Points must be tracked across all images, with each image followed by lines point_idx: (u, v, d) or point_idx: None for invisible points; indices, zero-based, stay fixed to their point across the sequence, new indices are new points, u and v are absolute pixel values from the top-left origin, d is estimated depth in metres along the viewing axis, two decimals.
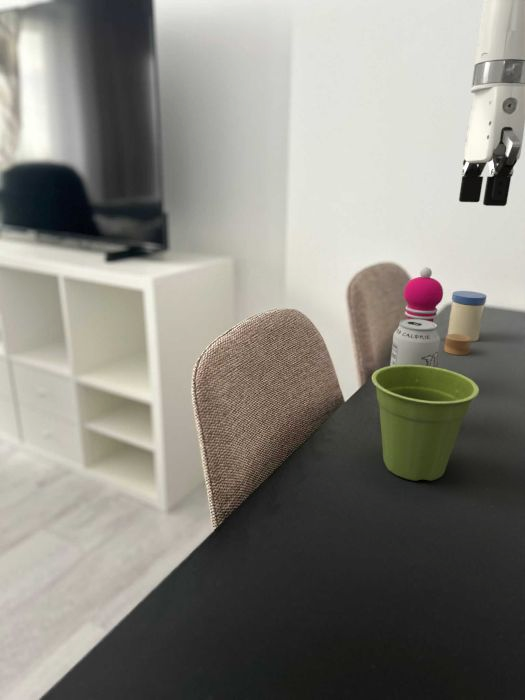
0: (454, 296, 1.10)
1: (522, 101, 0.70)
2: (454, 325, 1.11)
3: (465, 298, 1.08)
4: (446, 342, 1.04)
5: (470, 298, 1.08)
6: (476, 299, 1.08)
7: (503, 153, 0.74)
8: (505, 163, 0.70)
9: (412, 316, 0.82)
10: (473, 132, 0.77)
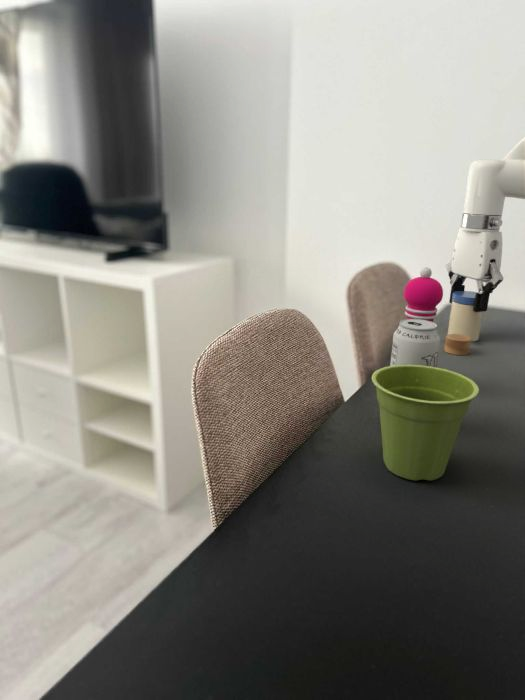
0: (454, 296, 1.10)
1: (501, 241, 1.03)
2: (454, 325, 1.11)
3: (465, 298, 1.08)
4: (446, 342, 1.04)
5: (470, 298, 1.08)
6: None
7: None
8: (491, 287, 1.04)
9: (412, 316, 0.82)
10: (463, 256, 1.08)
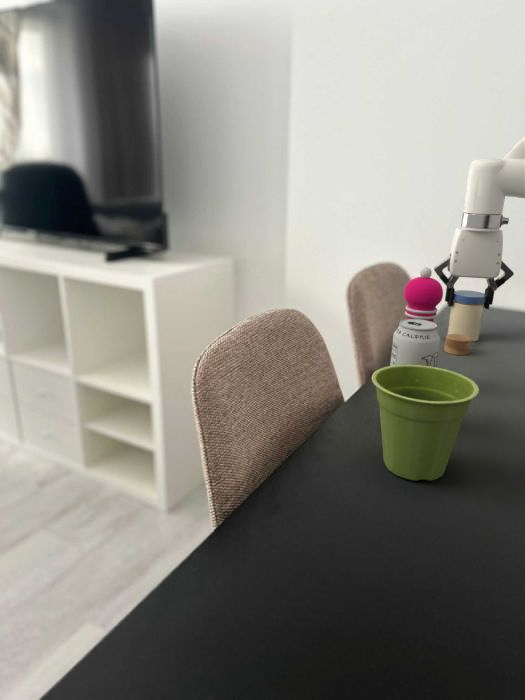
0: (468, 298, 1.08)
1: None
2: (454, 325, 1.11)
3: (481, 298, 1.08)
4: (446, 342, 1.04)
5: (484, 297, 1.08)
6: None
7: None
8: (504, 282, 1.08)
9: (412, 316, 0.82)
10: (473, 257, 1.06)
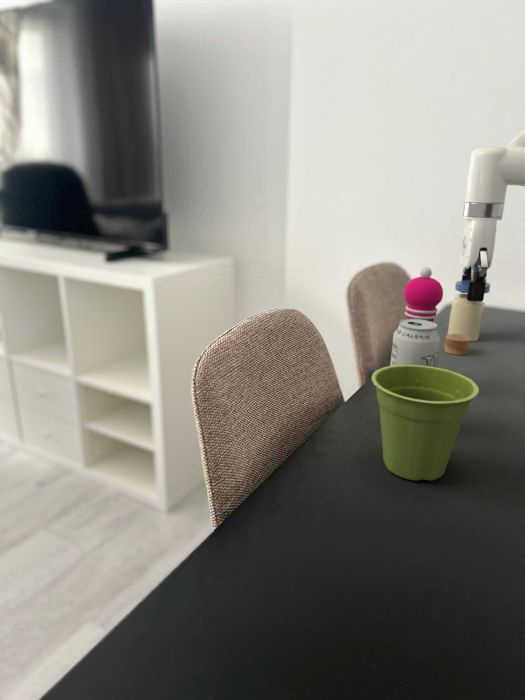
0: None
1: None
2: (454, 325, 1.11)
3: None
4: (446, 342, 1.04)
5: None
6: None
7: None
8: None
9: (412, 316, 0.82)
10: None
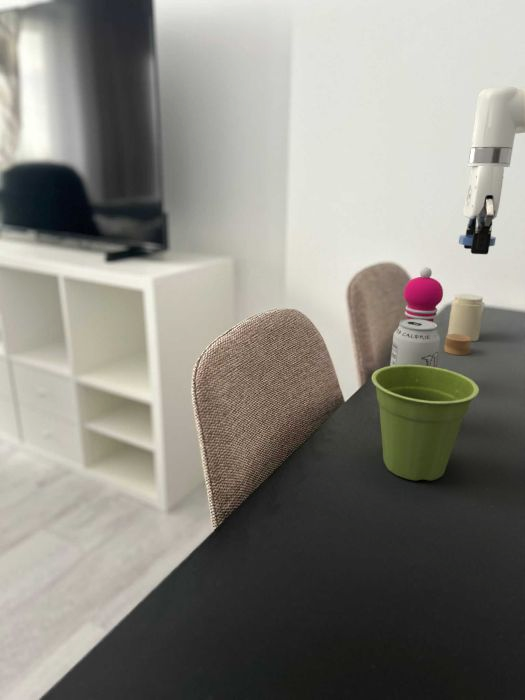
0: (495, 239, 1.03)
1: None
2: (454, 325, 1.11)
3: None
4: (446, 342, 1.04)
5: None
6: None
7: None
8: None
9: (412, 316, 0.82)
10: None
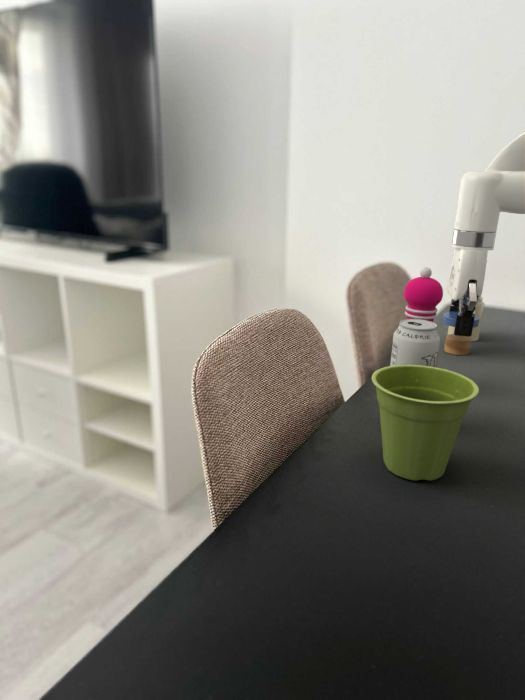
0: None
1: None
2: None
3: None
4: (446, 342, 1.04)
5: None
6: None
7: None
8: None
9: (412, 316, 0.82)
10: None
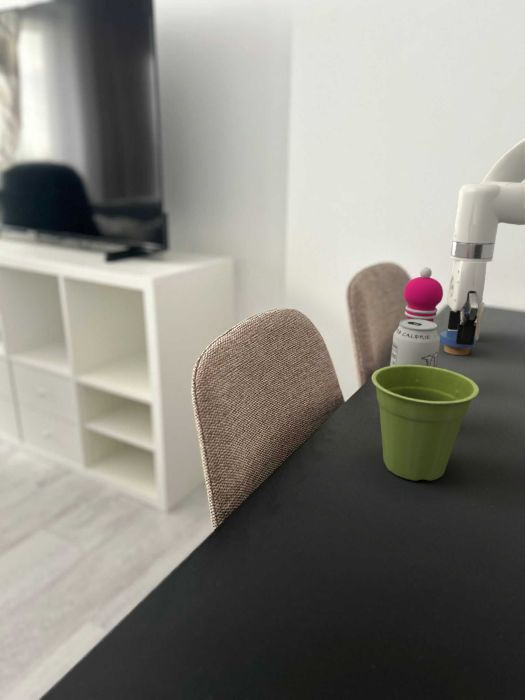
0: (475, 339, 1.02)
1: None
2: None
3: None
4: None
5: None
6: None
7: None
8: None
9: (412, 316, 0.82)
10: None
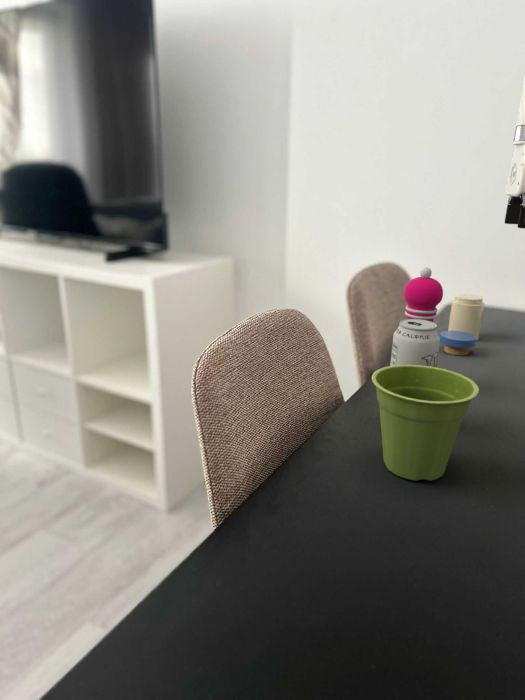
0: (475, 339, 1.02)
1: None
2: (454, 325, 1.11)
3: None
4: None
5: None
6: None
7: None
8: None
9: (412, 316, 0.82)
10: None
